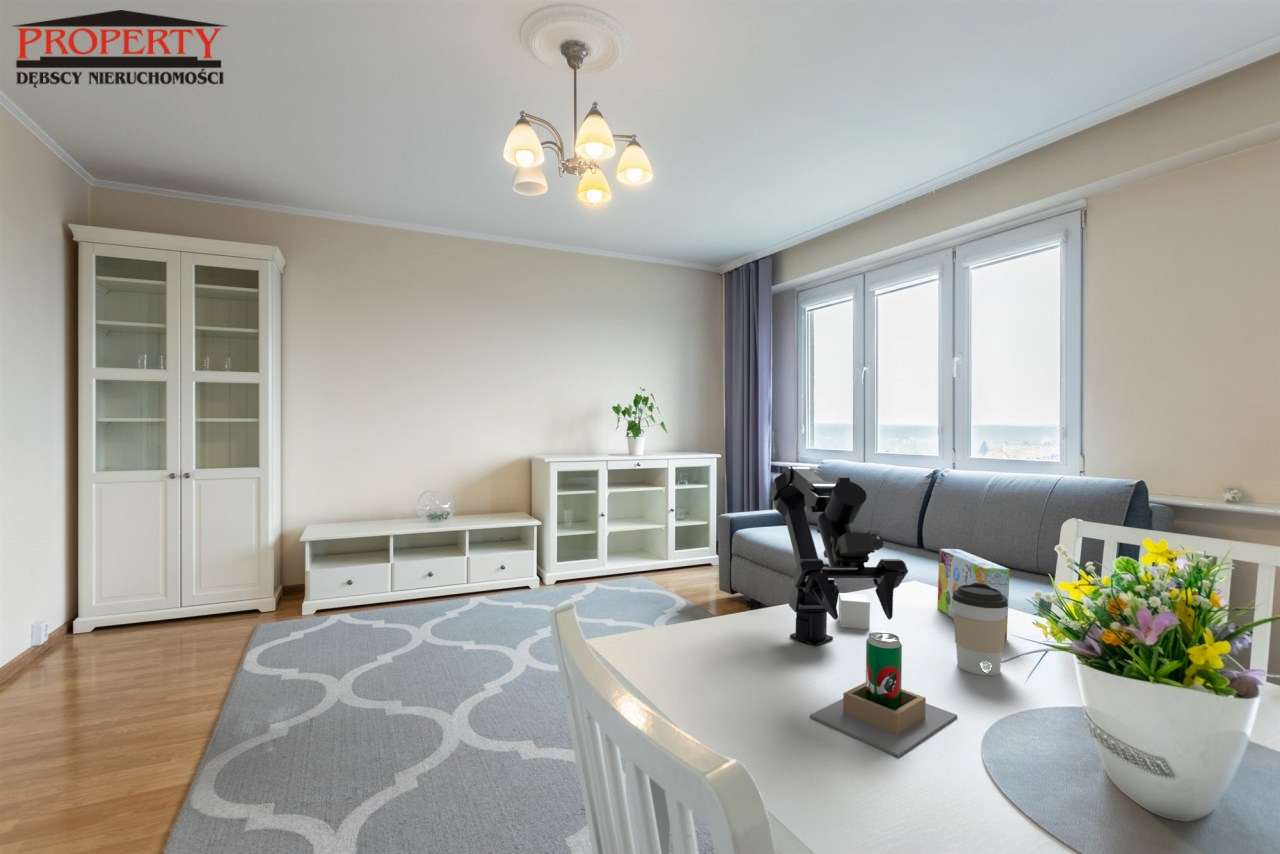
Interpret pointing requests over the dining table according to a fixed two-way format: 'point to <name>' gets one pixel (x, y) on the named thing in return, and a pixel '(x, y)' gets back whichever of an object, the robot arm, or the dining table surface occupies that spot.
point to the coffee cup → (979, 627)
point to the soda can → (884, 669)
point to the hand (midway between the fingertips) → (863, 618)
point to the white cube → (854, 610)
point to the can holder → (885, 720)
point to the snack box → (967, 577)
